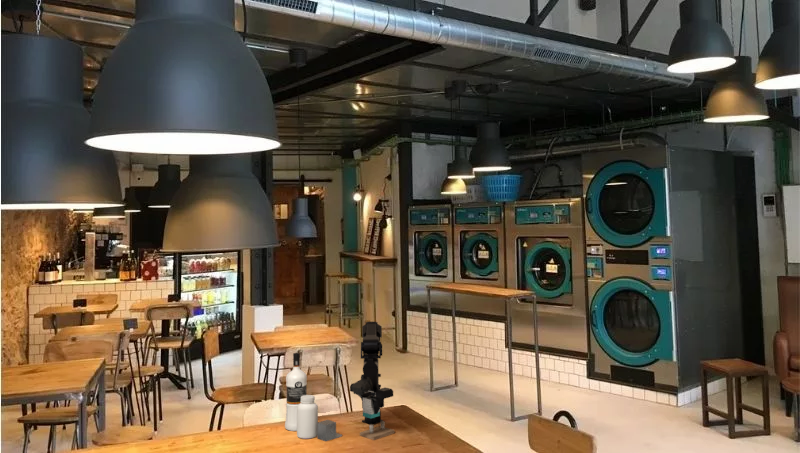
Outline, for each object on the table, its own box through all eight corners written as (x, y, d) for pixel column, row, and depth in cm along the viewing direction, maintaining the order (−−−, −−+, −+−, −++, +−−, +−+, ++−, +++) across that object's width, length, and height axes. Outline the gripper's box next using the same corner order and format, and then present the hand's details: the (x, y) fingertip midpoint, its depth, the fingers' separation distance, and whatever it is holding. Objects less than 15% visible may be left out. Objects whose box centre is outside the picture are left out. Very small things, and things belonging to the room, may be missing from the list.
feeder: (317, 438, 214) (317, 422, 214) (333, 433, 220) (333, 417, 220) (325, 441, 210) (325, 425, 211) (342, 436, 216) (342, 420, 217)
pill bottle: (321, 434, 219) (321, 395, 220) (310, 440, 212) (310, 400, 213) (304, 431, 223) (304, 393, 223) (292, 437, 215) (292, 397, 216)
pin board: (359, 435, 217) (359, 424, 217) (380, 428, 225) (379, 418, 225) (374, 440, 211) (374, 428, 212) (394, 433, 219) (394, 422, 220)
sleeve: (362, 416, 216) (362, 397, 217) (371, 413, 220) (371, 395, 220) (371, 418, 213) (370, 399, 213) (379, 415, 216) (379, 397, 217)
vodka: (307, 423, 233) (307, 350, 234) (309, 430, 224) (308, 354, 225) (284, 425, 230) (284, 351, 232) (285, 432, 221) (285, 355, 223)
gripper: (339, 371, 218) (339, 412, 217) (372, 378, 205) (373, 422, 204) (360, 367, 226) (360, 406, 225) (394, 373, 213) (394, 415, 212)
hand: (371, 412), depth 216 cm, fingers closed on sleeve, 5 cm apart
